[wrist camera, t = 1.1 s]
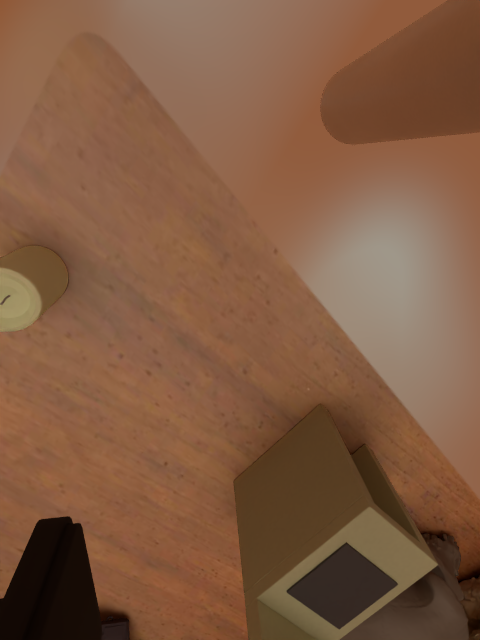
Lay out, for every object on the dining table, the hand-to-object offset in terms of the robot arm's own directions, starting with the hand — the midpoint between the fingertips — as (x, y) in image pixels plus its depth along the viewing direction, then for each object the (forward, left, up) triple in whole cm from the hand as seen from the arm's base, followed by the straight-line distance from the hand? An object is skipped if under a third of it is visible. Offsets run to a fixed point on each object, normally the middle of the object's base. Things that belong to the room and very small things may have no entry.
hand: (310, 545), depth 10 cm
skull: (+13, +36, -32) cm, 50 cm away
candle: (+12, -10, -31) cm, 35 cm away
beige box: (+10, +20, -31) cm, 39 cm away
